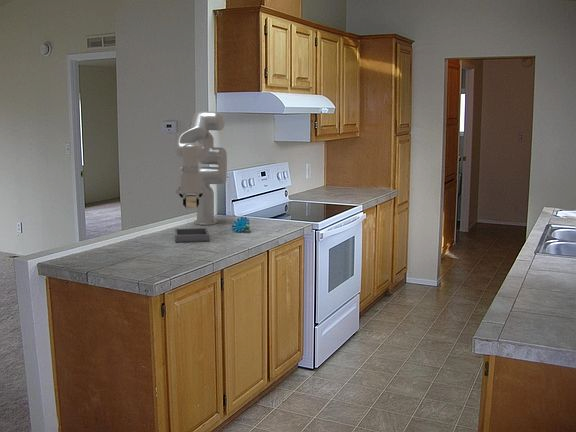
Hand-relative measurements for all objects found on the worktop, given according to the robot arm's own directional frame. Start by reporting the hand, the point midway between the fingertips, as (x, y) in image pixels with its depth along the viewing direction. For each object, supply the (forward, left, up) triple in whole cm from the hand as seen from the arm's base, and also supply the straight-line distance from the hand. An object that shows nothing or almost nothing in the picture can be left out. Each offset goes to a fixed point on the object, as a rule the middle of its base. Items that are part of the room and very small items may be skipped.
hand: (191, 206), depth 305 cm
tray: (0, 0, -16) cm, 16 cm away
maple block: (0, 0, -1) cm, 1 cm away
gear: (-14, +27, -17) cm, 34 cm away
